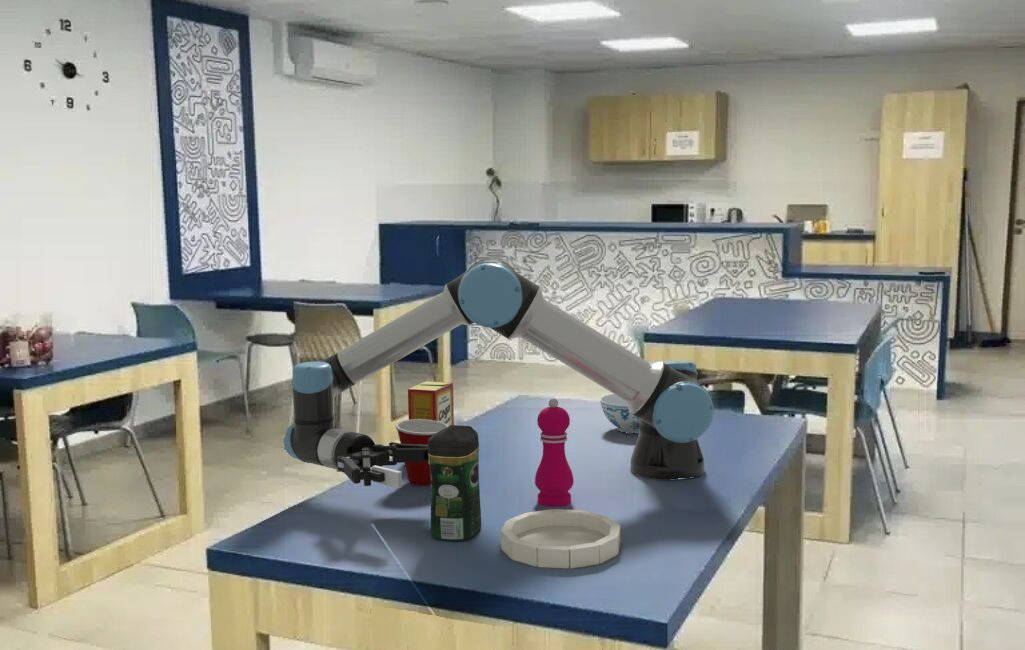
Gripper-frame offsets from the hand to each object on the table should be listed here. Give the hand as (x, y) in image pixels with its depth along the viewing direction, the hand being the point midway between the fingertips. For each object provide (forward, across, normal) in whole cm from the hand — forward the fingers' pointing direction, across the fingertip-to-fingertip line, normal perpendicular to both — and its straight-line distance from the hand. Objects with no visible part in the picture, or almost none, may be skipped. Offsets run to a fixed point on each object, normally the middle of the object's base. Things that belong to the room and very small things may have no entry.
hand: (429, 470), depth 170 cm
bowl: (+24, -6, -10) cm, 27 cm away
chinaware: (-11, -80, -11) cm, 82 cm away
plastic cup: (-21, -19, -10) cm, 30 cm away
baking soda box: (-34, -35, -10) cm, 50 cm away
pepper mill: (+9, -24, -10) cm, 28 cm away
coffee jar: (+6, 0, -10) cm, 12 cm away
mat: (+24, -6, -10) cm, 27 cm away
